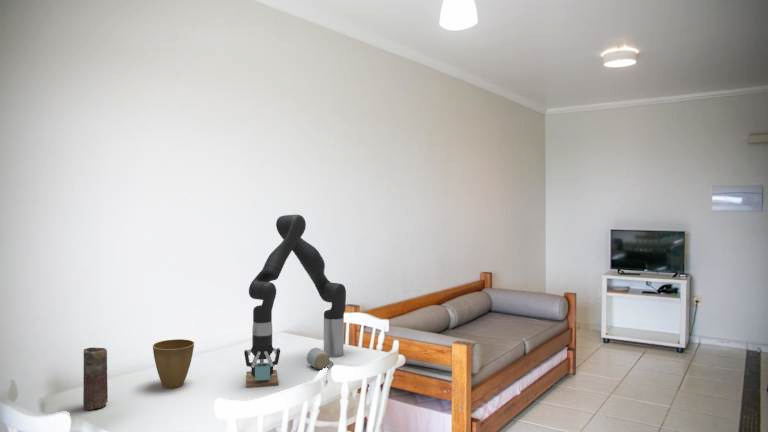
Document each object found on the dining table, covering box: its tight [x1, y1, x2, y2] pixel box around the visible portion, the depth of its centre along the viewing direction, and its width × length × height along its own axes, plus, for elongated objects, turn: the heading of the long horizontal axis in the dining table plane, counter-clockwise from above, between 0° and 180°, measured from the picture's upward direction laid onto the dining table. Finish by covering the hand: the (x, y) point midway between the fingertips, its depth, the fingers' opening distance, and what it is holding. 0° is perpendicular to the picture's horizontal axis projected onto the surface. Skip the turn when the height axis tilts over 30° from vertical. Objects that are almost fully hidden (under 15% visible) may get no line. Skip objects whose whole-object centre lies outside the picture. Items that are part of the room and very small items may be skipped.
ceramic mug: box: [306, 347, 335, 370], centre depth 231 cm, size 11×8×8 cm
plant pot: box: [152, 338, 195, 389], centre depth 207 cm, size 15×15×16 cm
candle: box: [82, 347, 109, 411], centre depth 185 cm, size 8×7×20 cm
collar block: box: [255, 362, 270, 381], centre depth 210 cm, size 6×6×5 cm
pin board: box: [245, 359, 279, 389], centre depth 214 cm, size 16×12×7 cm
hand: (262, 375), depth 210 cm, fingers closed on collar block, 5 cm apart
